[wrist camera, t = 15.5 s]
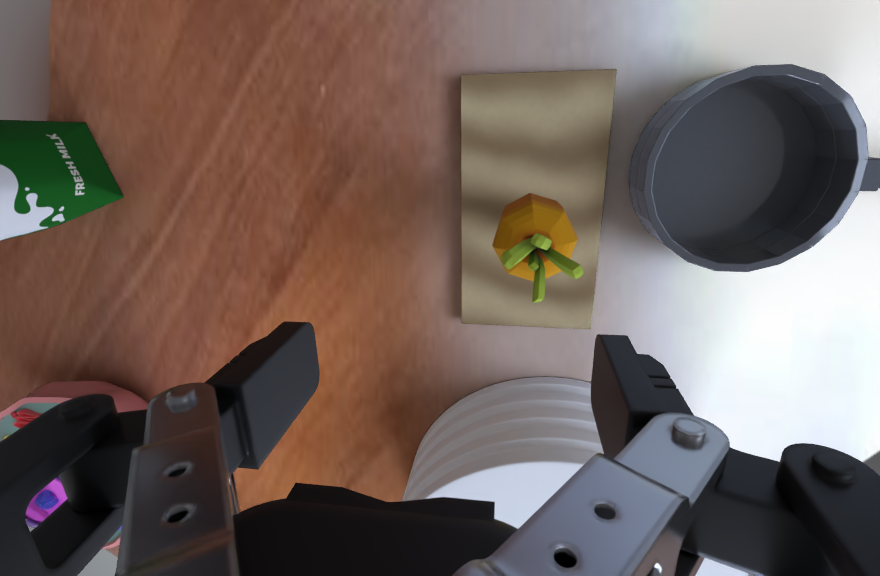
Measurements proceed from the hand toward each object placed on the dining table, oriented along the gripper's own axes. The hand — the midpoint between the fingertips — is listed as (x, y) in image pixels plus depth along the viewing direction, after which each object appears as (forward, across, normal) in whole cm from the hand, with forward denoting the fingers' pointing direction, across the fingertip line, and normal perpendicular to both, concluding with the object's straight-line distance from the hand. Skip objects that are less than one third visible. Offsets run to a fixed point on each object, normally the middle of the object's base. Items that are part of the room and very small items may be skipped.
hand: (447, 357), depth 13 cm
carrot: (+26, -3, +1) cm, 26 cm away
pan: (+27, -17, -2) cm, 32 cm away
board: (+27, -3, 0) cm, 27 cm away
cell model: (+27, +41, +25) cm, 55 cm away
